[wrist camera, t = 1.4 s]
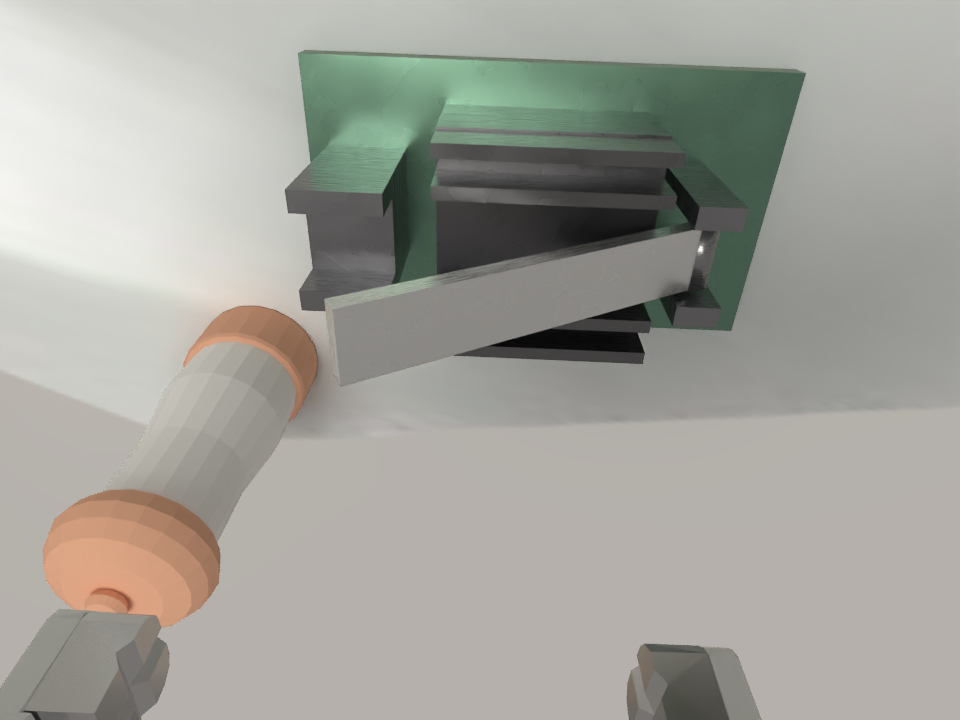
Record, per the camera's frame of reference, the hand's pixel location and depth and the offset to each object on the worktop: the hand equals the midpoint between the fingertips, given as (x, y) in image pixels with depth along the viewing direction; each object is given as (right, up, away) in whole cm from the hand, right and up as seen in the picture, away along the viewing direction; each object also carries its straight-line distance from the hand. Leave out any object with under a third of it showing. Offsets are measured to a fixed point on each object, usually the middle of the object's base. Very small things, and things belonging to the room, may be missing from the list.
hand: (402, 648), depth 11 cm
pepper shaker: (-13, +5, +30) cm, 33 cm away
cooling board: (+4, +14, +23) cm, 28 cm away
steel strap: (+4, +8, +15) cm, 17 cm away
